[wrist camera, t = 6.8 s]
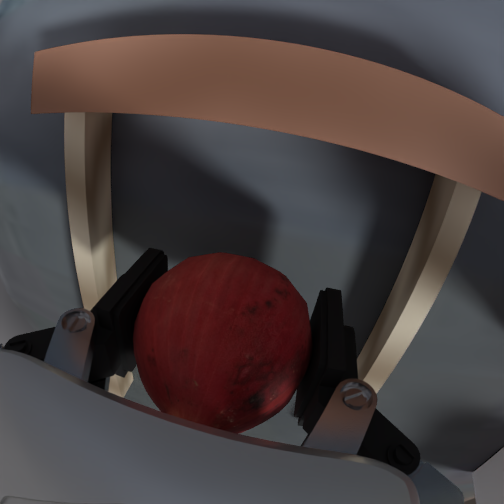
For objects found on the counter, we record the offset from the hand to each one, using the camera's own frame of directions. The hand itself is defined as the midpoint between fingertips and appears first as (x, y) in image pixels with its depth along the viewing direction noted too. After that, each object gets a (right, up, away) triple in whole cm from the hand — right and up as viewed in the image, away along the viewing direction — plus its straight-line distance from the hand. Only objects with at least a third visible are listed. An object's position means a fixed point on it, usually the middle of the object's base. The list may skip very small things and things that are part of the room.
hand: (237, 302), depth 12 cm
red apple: (0, +1, +2) cm, 2 cm away
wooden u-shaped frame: (0, -1, +4) cm, 4 cm away
